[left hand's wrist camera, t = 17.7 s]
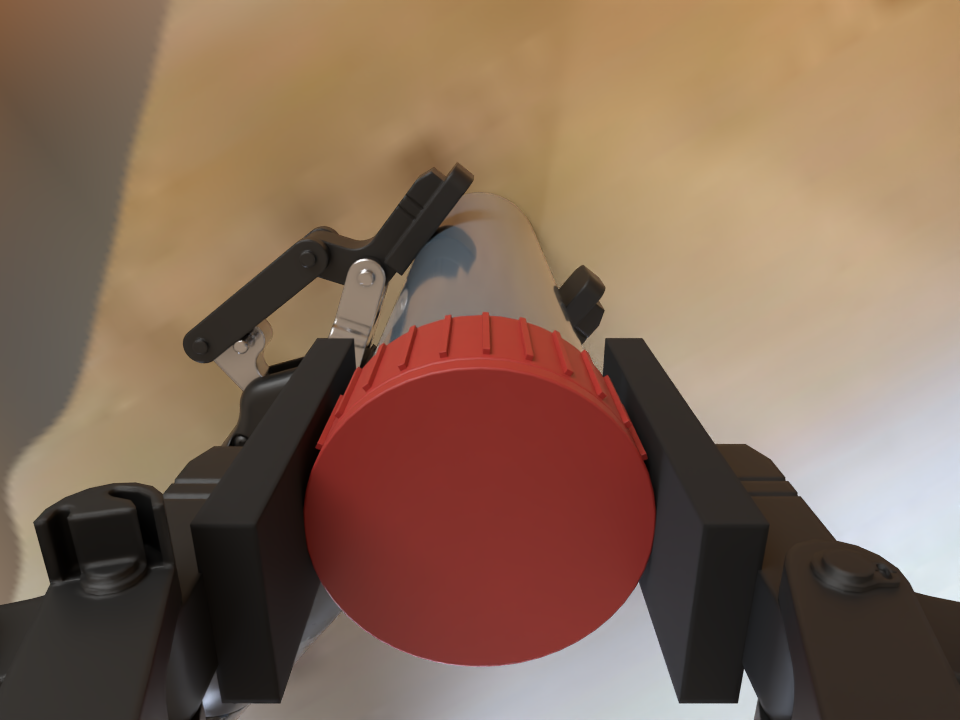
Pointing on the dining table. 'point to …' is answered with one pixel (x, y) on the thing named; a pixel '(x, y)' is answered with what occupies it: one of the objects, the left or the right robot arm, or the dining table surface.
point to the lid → (479, 494)
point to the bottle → (481, 272)
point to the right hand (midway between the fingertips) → (529, 226)
